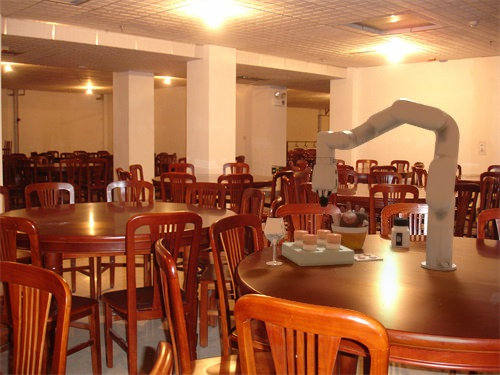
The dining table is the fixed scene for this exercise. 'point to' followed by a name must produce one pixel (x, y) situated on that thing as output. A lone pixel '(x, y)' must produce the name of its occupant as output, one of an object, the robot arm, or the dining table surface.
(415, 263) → the dining table surface
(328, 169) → the robot arm
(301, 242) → the button
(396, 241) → the container
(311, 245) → the button
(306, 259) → the board
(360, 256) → the pattern tile
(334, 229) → the bucket of meat
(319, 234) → the button
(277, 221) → the wineglass
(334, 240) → the button
